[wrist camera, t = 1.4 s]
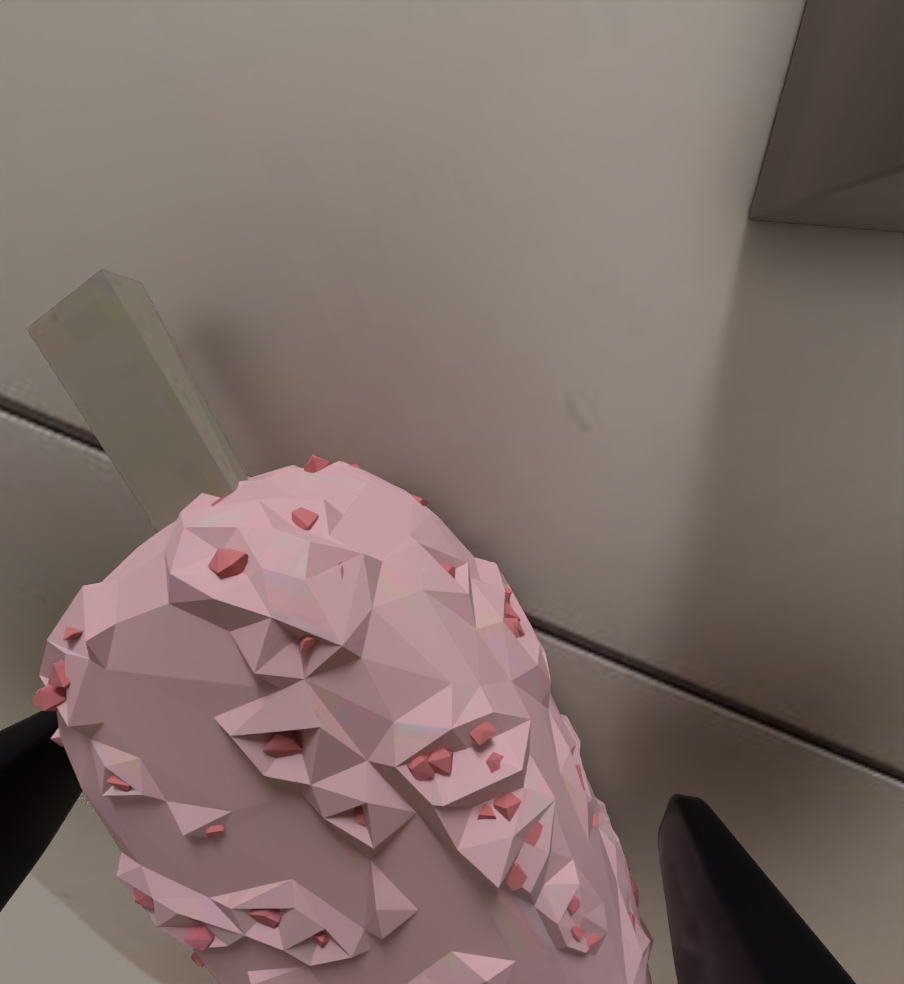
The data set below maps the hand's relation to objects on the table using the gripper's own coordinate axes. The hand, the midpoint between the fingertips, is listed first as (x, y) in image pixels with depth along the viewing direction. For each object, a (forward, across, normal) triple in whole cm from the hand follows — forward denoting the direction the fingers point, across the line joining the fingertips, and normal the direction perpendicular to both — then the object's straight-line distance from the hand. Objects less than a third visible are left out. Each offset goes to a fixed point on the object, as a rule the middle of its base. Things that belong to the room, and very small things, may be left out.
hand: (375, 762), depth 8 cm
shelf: (+2, -9, -33) cm, 34 cm away
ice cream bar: (+2, 0, 0) cm, 2 cm away
